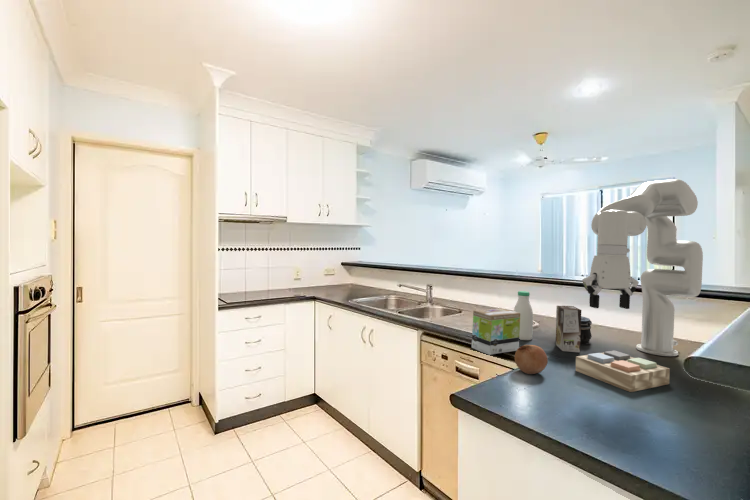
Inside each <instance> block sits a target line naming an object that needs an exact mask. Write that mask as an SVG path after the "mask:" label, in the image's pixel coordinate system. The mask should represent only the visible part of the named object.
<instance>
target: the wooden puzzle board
mask: <svg viewBox="0 0 750 500" xmlns="http://www.w3.org/2000/svg"><path fill="white" fill-rule="evenodd" d="M600 353H601V354H604V352H600ZM633 358H634V357H633V356H630V359H633ZM614 361H618V360H615V359H614ZM623 361H627V362H628V360H623ZM670 369H671V368H669V367H666V366H662V365H659V364H656V368H651V369H643V368H640V371H635V372H626V371H623V370H620V369H617V368H614V367H611V363H605V364H602V363H599V362H596V361H594V360H591V359H588V354H585V355H578V356H575V371H576V372H578V373H580V374H583V375H586V376H588V377H591V378H593V379H596V380H598V381H601V382H604V383H606V384H608V385H611V386H613V387H616V388H618V389H621V390H624V391H627V392H630V393H634V392H637V391H642V390H643V391H644V390H647V389H651V388H652V389H653V388H657V387H661V386H665V385H670V374H671V373H670Z"/></svg>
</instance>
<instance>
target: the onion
mask: <svg viewBox="0 0 750 500" xmlns="http://www.w3.org/2000/svg"><path fill="white" fill-rule="evenodd" d="M548 359H549V358H548V356H547V353H546V352H545V350H544V349H543V347H540V346H538V345H535V344H524V345H521V346H520V345H519V348H518V349H517V351H515V354H514V363H515V365H516V367H517V368H518V369H519V370H520V371H521V372H522V373H524V374H527V375H535V374H536V375H537V374H540V373H542V372H543V371H544V370H545V368H546V367H547V366H548V364H549V363H548V361H549V360H548Z"/></svg>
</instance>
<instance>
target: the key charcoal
mask: <svg viewBox="0 0 750 500" xmlns="http://www.w3.org/2000/svg"><path fill="white" fill-rule="evenodd" d="M603 353H604V355H608V356H611V357H614V359H615V360H618V361H620V360H628V359H630V357H631V354H627V353H624V352H621V351H619V350H618V351H617V350H615V349H613V350H608V351H604V352H603Z"/></svg>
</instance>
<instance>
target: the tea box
mask: <svg viewBox="0 0 750 500" xmlns="http://www.w3.org/2000/svg"><path fill="white" fill-rule="evenodd" d="M519 331H520V313H518V312H514V310H509V309H506V308H502V307H500V308H490V309H475V310H473V315H472V331H471V332H472V333H471V348H472V349H473V350H476V351H479V352H481V353H483V354H486V355H488V356H492V355H496V354H502V353H510V352H516V351H517V349H518V348H520V340H519Z"/></svg>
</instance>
